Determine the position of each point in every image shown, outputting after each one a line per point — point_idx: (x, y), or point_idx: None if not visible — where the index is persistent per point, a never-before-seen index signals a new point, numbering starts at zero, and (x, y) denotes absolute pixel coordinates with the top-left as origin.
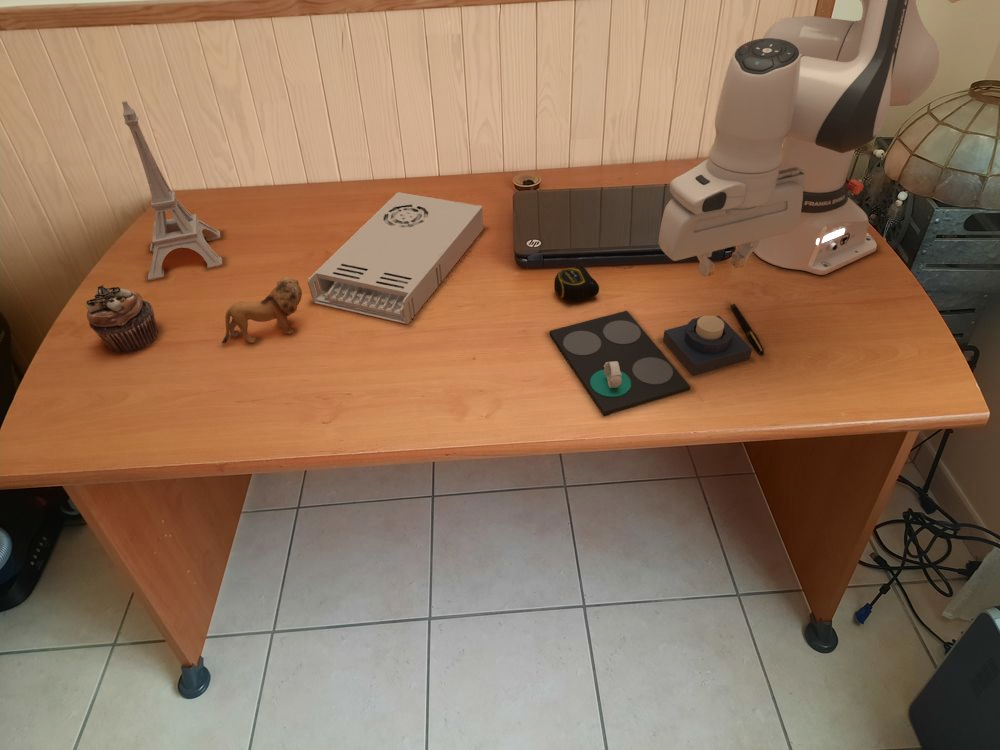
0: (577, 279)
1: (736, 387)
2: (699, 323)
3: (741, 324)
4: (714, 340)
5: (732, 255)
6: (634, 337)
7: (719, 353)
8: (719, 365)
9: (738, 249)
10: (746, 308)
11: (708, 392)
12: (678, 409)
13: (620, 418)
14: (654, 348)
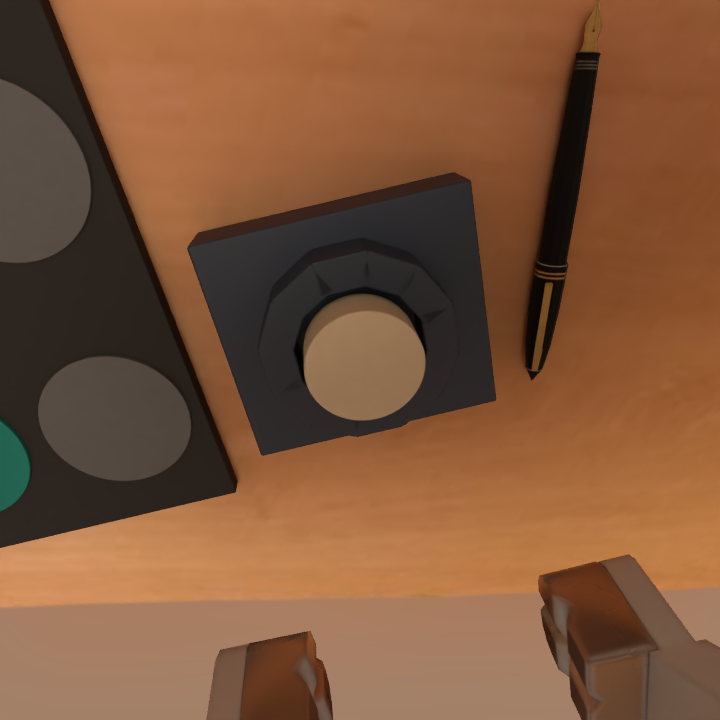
0: None
1: (384, 481)
2: (313, 364)
3: (549, 201)
4: None
5: (576, 647)
6: (57, 226)
7: None
8: None
9: (672, 667)
10: (639, 62)
11: (293, 492)
12: (185, 541)
13: (3, 559)
14: (143, 302)
